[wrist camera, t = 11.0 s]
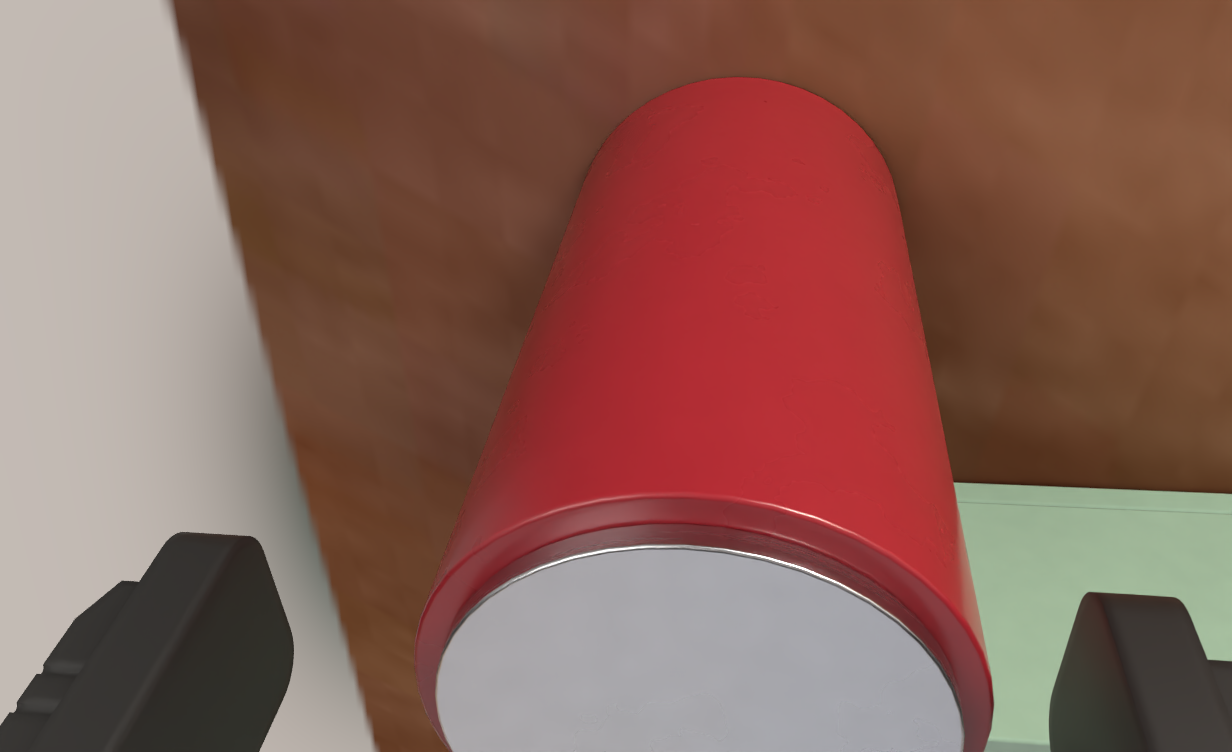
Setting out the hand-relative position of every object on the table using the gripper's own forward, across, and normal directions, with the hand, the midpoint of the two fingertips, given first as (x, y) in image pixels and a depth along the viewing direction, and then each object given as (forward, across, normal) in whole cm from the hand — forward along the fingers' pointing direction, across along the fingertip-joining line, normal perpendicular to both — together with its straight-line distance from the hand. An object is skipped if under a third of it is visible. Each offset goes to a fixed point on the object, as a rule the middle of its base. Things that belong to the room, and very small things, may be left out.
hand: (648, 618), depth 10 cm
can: (+10, 0, +1) cm, 10 cm away
